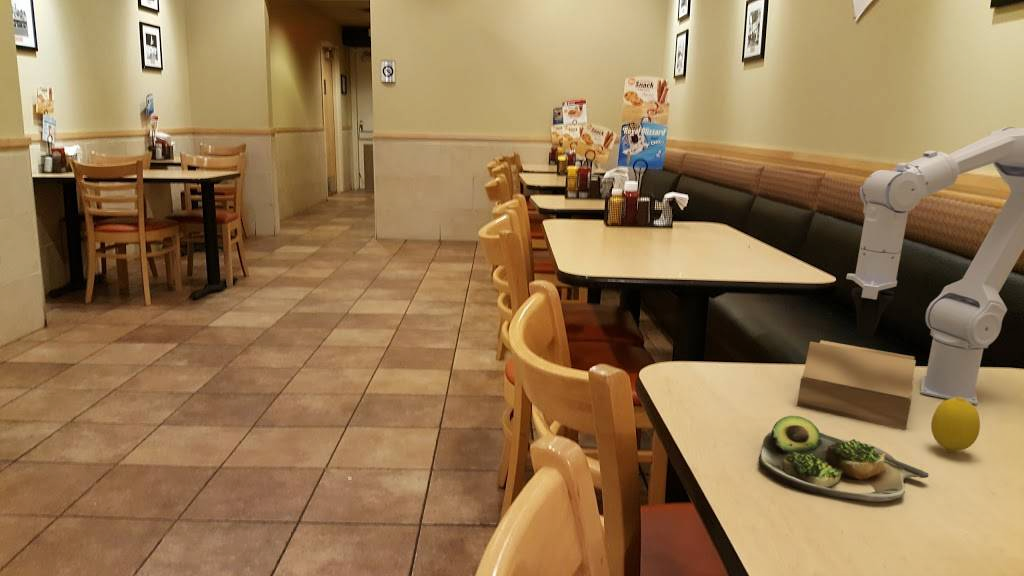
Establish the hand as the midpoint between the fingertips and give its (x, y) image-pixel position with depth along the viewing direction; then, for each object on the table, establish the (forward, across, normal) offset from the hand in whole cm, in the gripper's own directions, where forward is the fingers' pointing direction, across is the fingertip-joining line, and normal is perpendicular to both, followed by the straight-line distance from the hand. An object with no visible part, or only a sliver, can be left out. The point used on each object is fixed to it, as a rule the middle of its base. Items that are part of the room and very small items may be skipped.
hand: (865, 335), depth 116 cm
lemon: (+11, +14, +13) cm, 22 cm away
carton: (+10, +4, 0) cm, 11 cm away
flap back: (+5, -5, 0) cm, 7 cm away
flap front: (+3, +8, 0) cm, 9 cm away
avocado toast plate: (+11, +30, 0) cm, 32 cm away
